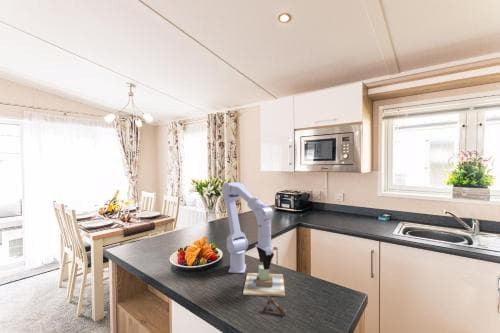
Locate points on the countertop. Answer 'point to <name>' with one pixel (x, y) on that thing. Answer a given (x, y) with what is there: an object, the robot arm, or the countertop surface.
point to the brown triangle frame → (275, 305)
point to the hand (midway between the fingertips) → (264, 265)
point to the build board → (264, 292)
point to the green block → (263, 273)
